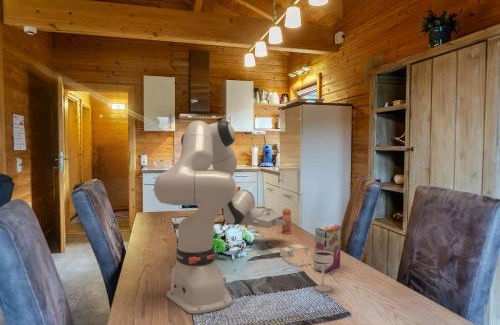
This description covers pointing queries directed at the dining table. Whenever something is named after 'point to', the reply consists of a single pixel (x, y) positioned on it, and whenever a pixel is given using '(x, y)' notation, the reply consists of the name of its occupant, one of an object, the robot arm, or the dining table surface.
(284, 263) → the dining table surface
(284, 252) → the die
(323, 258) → the wineglass
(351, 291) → the dining table surface
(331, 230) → the candy bar box
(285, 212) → the pawn
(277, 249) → the track board
